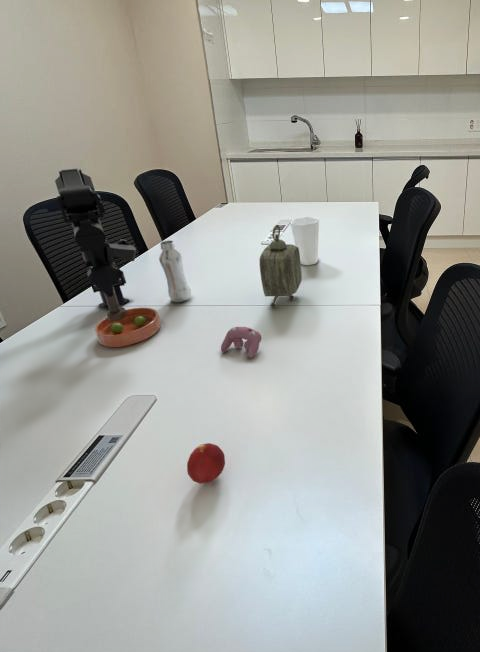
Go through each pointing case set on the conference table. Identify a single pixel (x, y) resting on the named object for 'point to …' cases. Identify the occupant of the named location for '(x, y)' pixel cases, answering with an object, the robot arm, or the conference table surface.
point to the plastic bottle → (174, 272)
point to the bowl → (128, 328)
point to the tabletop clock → (280, 269)
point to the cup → (306, 238)
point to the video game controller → (237, 336)
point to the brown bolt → (114, 308)
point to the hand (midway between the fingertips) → (110, 294)
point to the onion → (205, 463)
